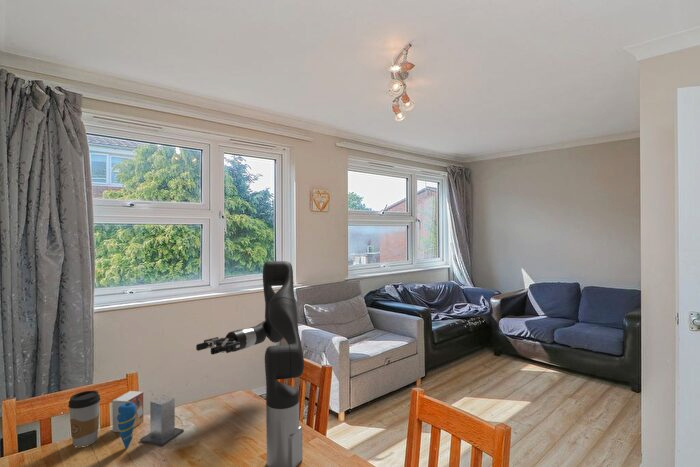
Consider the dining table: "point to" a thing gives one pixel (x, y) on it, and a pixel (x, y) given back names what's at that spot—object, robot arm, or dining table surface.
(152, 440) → the grey plate with post
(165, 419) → the brushed metal pedestal
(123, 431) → the ornament
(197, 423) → the dining table surface
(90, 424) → the coffee cup
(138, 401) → the small box
